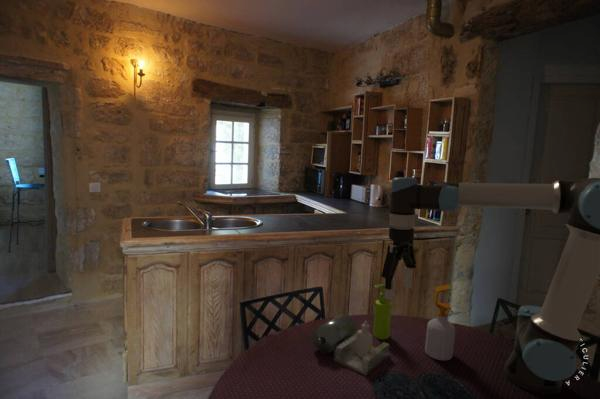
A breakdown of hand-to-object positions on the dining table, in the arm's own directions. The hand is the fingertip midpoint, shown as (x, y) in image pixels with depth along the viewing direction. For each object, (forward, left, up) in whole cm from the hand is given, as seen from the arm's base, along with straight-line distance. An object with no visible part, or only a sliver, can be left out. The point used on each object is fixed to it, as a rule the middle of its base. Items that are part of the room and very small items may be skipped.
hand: (398, 292), depth 118 cm
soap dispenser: (+12, -14, -25) cm, 31 cm away
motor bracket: (+14, +5, -24) cm, 28 cm away
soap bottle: (-9, -17, -25) cm, 31 cm away
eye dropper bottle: (+9, +4, -24) cm, 25 cm away
